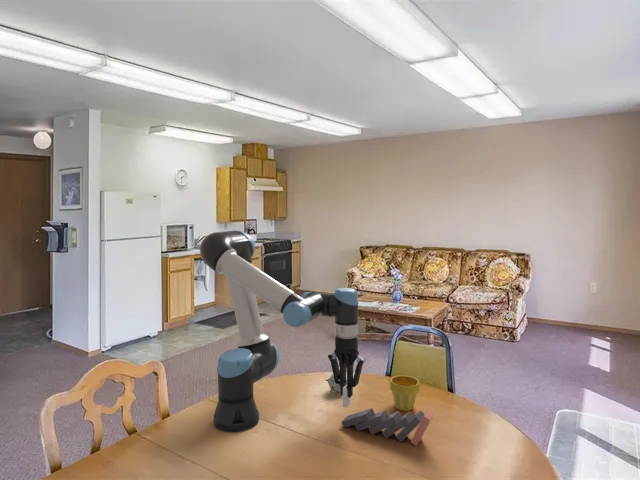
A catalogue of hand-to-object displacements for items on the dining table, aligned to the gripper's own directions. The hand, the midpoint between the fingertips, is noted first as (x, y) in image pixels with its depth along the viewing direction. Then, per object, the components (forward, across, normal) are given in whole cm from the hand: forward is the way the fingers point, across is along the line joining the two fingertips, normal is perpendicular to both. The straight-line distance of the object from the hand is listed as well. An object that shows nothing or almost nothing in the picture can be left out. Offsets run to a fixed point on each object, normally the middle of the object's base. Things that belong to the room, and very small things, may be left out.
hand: (346, 405), depth 151 cm
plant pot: (+7, +12, +22) cm, 26 cm away
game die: (+7, -14, +22) cm, 27 cm away
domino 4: (+6, +14, 0) cm, 15 cm away
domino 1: (+6, 0, 0) cm, 6 cm away
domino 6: (+6, +24, 0) cm, 24 cm away
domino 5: (+6, +19, 0) cm, 20 cm away
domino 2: (+6, +5, 0) cm, 7 cm away
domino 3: (+6, +10, 0) cm, 11 cm away
